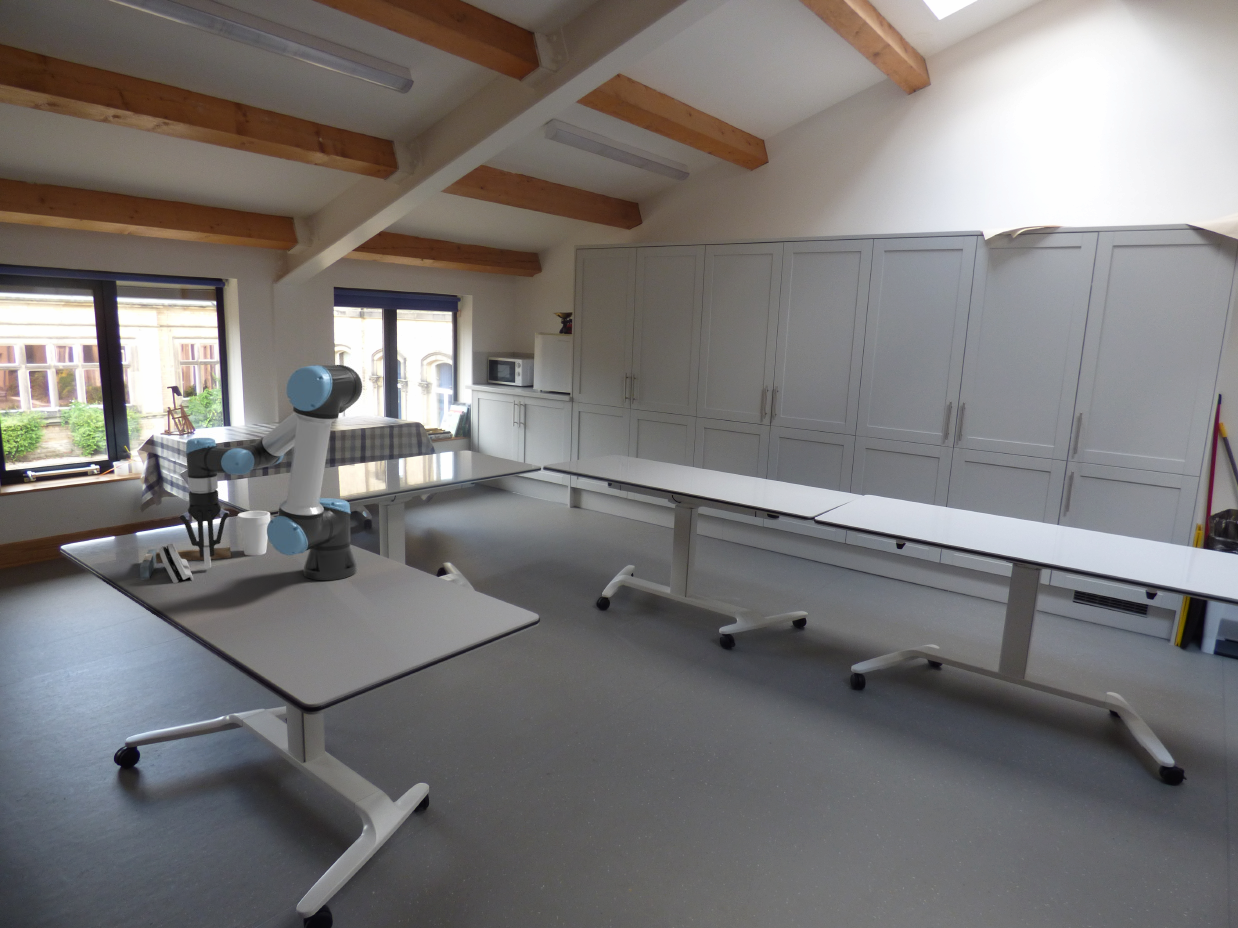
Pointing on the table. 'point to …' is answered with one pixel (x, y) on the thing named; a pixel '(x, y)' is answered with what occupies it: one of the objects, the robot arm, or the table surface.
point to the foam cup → (254, 531)
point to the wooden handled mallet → (154, 557)
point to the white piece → (175, 563)
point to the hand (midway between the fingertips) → (207, 566)
